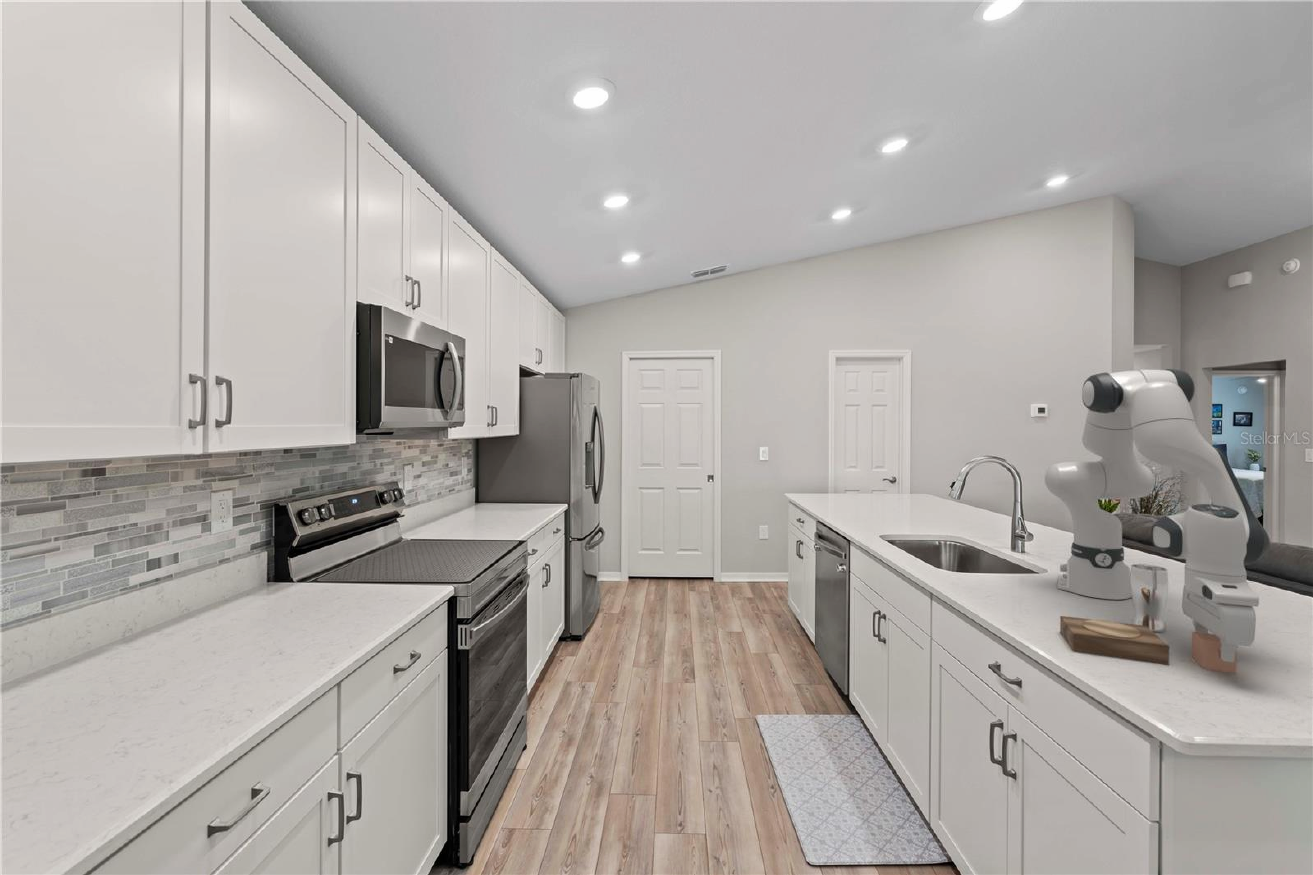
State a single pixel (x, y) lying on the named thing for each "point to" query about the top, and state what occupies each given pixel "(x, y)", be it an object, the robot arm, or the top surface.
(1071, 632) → the block
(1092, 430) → the robot arm
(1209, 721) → the top surface
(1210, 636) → the terracotta block
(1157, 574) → the beer glass
